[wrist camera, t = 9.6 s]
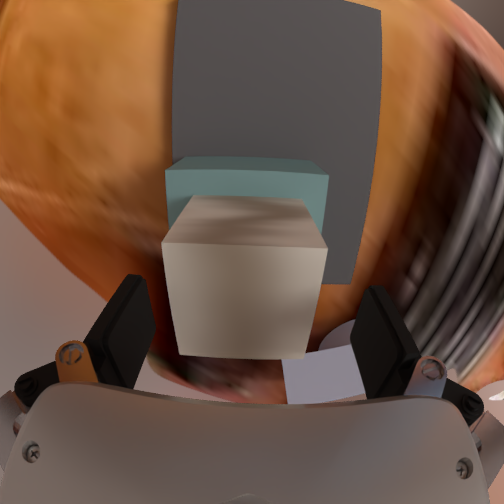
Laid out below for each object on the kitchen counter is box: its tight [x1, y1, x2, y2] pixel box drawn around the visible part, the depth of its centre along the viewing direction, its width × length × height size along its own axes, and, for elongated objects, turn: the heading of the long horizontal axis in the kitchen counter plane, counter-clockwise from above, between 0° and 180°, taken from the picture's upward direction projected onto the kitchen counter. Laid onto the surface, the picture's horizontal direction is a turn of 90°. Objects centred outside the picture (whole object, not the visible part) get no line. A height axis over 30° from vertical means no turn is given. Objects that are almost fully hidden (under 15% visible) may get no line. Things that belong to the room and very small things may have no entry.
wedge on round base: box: [281, 320, 365, 404], centre depth 26 cm, size 9×7×13 cm
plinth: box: [165, 156, 329, 234], centre depth 19 cm, size 9×9×5 cm
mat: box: [172, 0, 382, 284], centre depth 18 cm, size 15×24×1 cm, turn 178°
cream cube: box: [161, 195, 328, 359], centre depth 14 cm, size 6×6×6 cm
